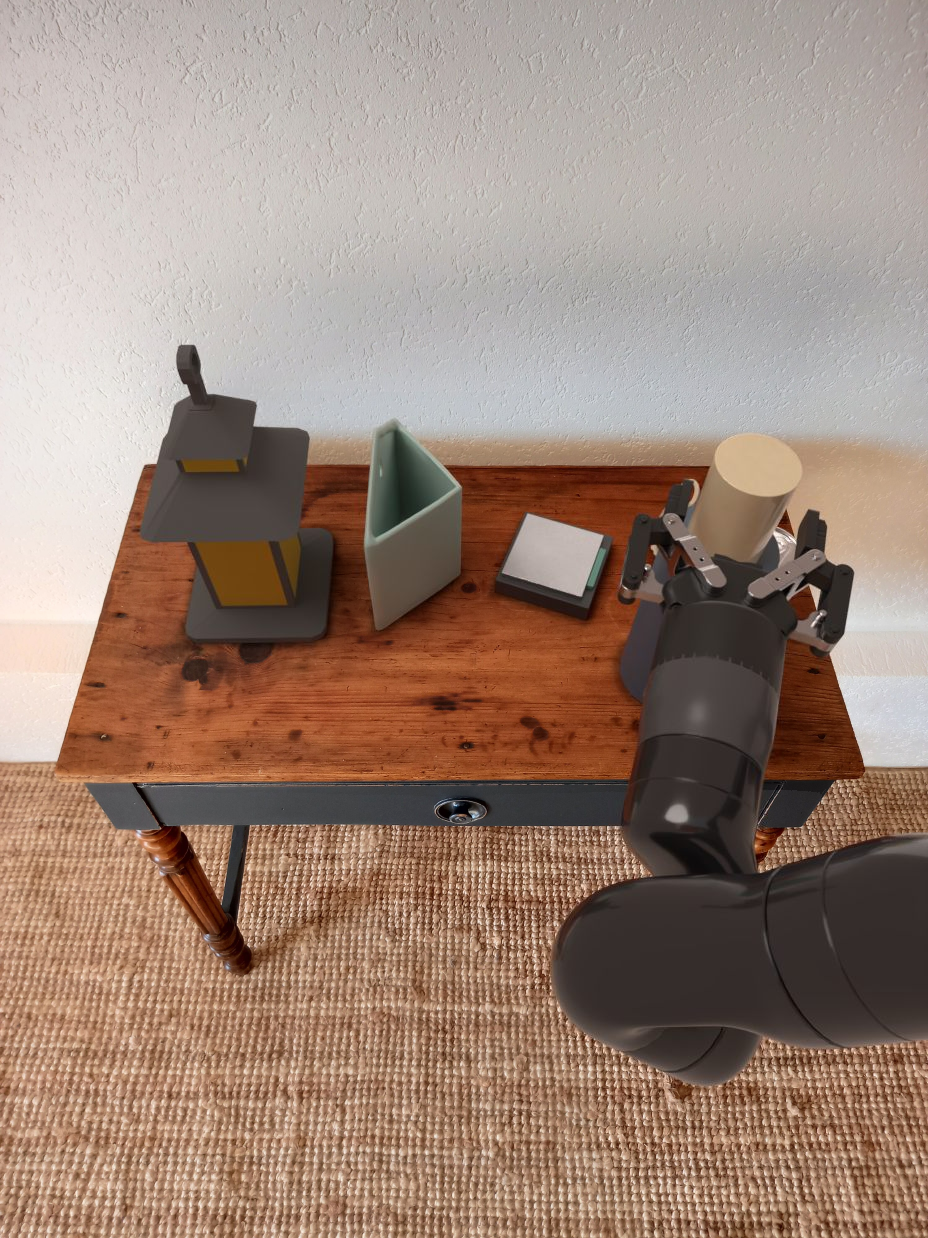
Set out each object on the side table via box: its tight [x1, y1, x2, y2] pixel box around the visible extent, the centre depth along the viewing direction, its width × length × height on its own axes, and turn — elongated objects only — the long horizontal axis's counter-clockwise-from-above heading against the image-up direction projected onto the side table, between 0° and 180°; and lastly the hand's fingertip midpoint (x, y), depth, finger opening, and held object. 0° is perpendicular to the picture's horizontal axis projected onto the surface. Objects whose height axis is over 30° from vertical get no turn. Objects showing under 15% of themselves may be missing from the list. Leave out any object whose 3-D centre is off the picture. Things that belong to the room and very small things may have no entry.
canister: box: [687, 432, 804, 564], centre depth 59 cm, size 6×6×9 cm
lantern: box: [139, 344, 335, 645], centre depth 72 cm, size 14×14×30 cm
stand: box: [619, 504, 780, 704], centre depth 71 cm, size 9×9×20 cm
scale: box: [494, 510, 614, 621], centre depth 85 cm, size 10×10×3 cm
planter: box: [363, 417, 463, 631], centre depth 78 cm, size 16×8×20 cm, turn 174°
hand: (746, 502), depth 56 cm, fingers open, 8 cm apart
